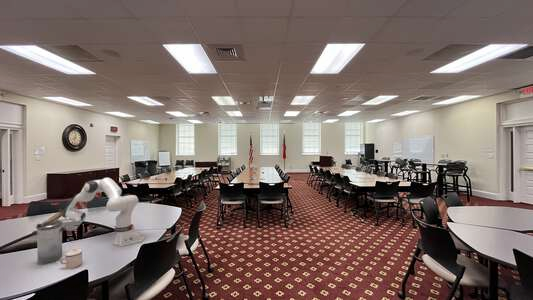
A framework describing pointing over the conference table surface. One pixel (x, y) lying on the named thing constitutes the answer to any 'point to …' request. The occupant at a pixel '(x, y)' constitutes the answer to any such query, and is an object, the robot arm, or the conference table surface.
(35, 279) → the conference table surface
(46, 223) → the lock bar
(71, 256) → the teacup with lid
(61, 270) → the conference table surface
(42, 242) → the grey tall piece
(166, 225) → the conference table surface
